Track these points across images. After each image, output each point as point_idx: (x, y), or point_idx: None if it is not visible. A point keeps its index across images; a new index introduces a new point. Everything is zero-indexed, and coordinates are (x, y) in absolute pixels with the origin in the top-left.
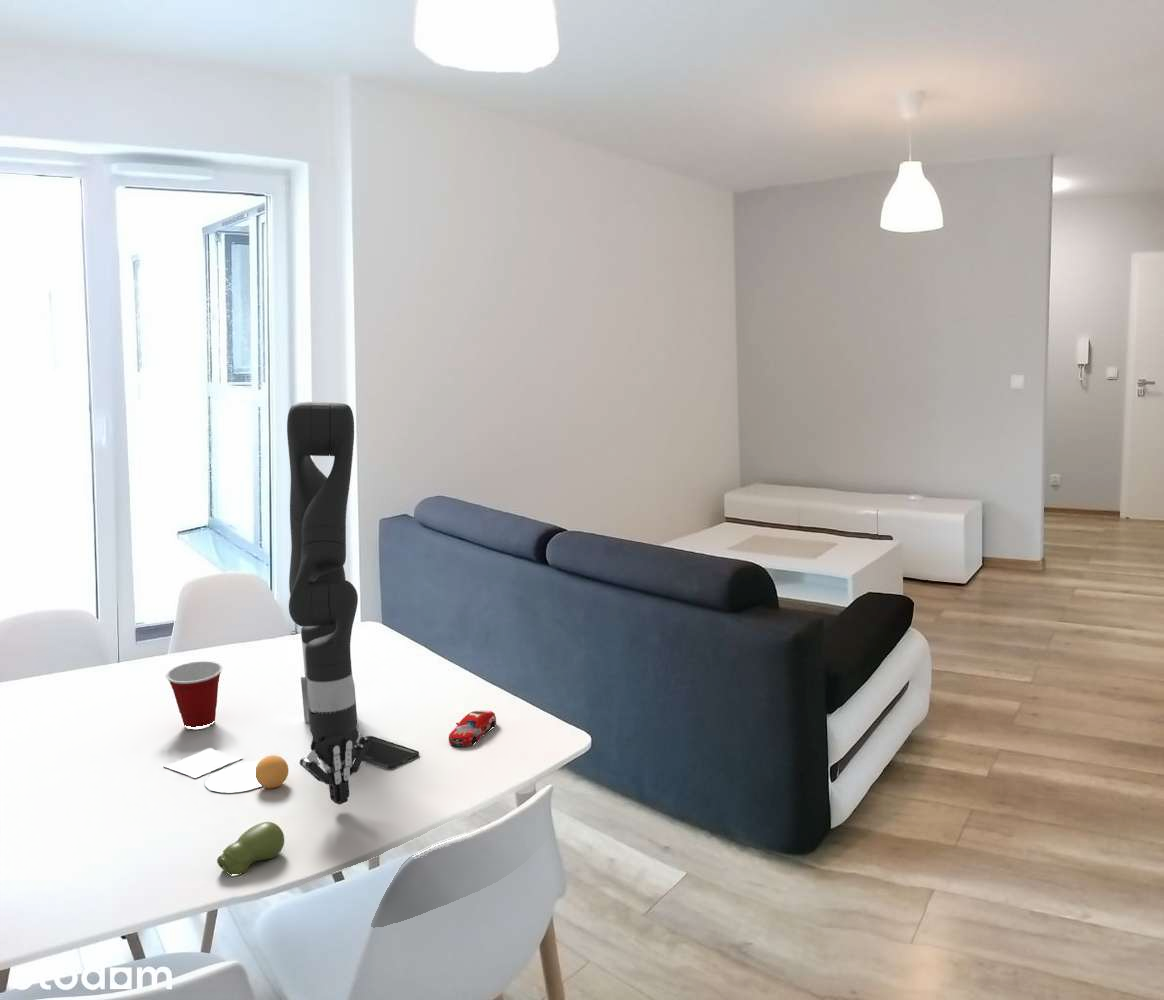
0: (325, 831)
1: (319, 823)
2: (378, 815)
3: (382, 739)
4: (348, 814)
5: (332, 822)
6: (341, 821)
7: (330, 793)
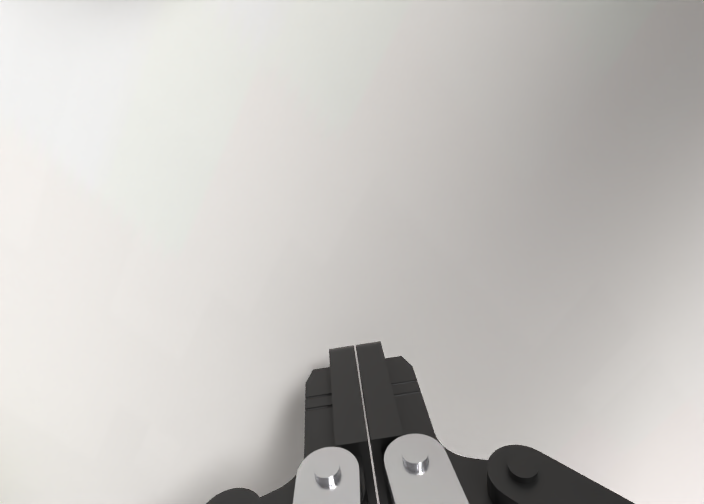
0: (202, 455)
1: (210, 381)
2: None
3: None
4: None
5: (264, 409)
6: (299, 425)
7: (306, 410)
